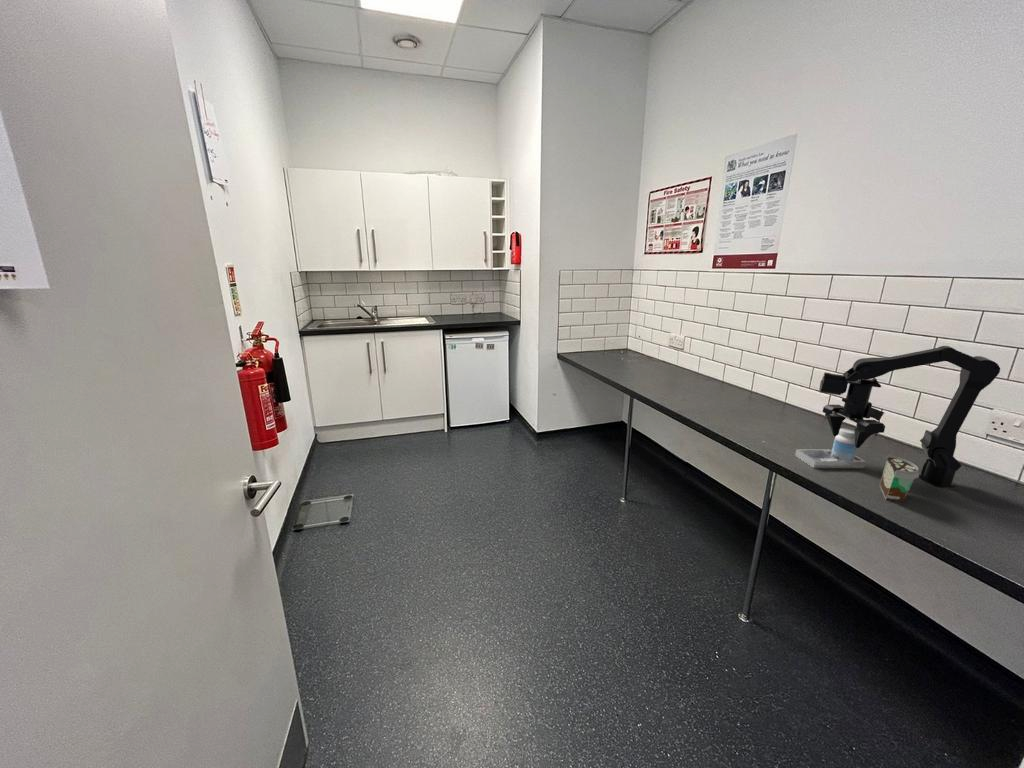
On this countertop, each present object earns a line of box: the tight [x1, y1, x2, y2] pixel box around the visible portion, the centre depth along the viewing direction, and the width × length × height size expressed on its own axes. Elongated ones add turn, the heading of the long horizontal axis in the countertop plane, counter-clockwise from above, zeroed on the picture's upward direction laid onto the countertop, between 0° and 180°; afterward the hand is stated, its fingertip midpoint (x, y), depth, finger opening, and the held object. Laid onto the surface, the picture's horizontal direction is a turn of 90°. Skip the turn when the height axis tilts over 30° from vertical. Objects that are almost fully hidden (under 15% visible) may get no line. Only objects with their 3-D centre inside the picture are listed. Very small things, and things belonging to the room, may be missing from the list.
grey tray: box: [794, 448, 866, 469], centre depth 141 cm, size 9×17×2 cm, turn 91°
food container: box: [879, 454, 920, 502], centre depth 120 cm, size 12×6×10 cm, turn 148°
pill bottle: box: [831, 427, 857, 461], centre depth 139 cm, size 6×6×11 cm
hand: (845, 441), depth 139 cm, fingers open, 9 cm apart
